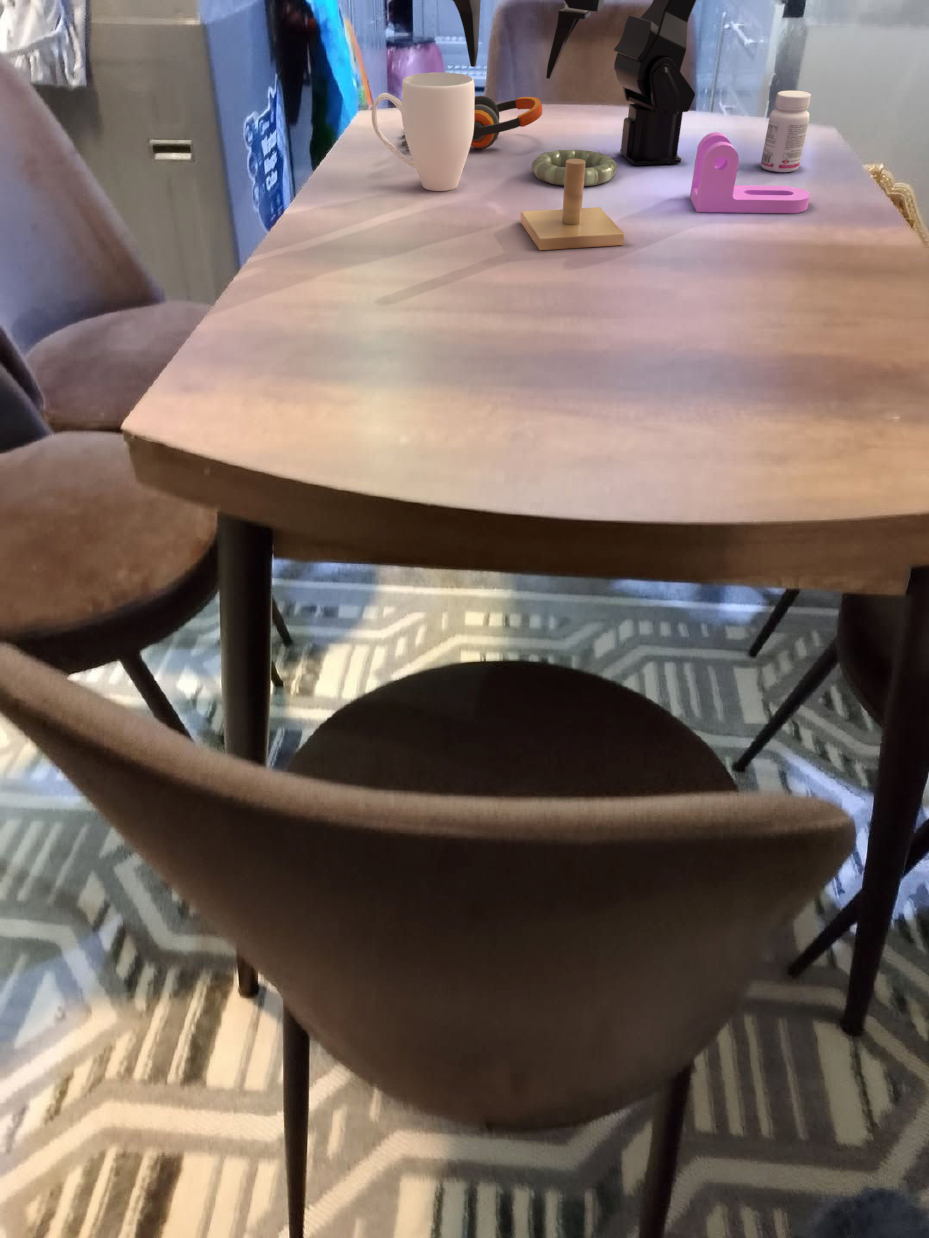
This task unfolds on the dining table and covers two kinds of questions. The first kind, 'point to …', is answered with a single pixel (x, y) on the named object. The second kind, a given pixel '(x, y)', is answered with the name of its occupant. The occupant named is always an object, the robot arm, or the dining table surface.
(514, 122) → the headphones
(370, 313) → the dining table surface
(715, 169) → the bracket
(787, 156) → the pill bottle
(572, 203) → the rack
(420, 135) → the mug
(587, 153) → the ring
